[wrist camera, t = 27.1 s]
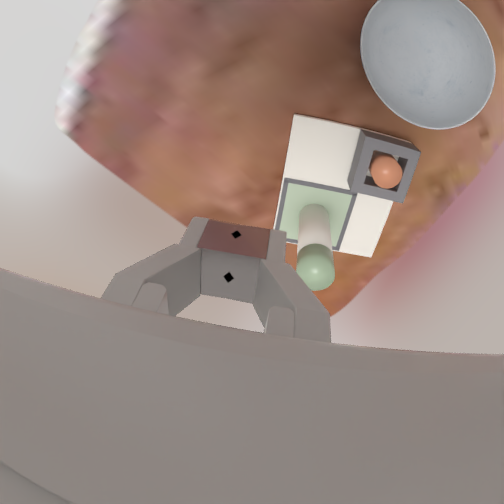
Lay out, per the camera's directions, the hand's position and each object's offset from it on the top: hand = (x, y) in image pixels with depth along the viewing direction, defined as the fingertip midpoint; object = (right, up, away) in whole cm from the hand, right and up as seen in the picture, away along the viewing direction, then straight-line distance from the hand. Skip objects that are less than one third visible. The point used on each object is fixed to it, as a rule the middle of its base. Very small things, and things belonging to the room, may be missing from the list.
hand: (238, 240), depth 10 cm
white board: (+12, +8, +29) cm, 32 cm away
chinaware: (+18, +22, +17) cm, 34 cm away
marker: (+9, +4, +31) cm, 33 cm away
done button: (+16, +11, +25) cm, 32 cm away
